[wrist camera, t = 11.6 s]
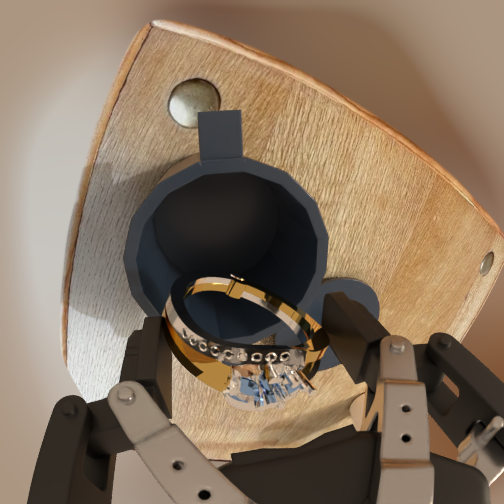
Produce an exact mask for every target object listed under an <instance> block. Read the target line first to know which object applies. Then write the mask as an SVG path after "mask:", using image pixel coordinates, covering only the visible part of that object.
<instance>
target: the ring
mask: <svg viewBox="0 0 504 504" xmlns="http://www.w3.org/2000/svg"><path fill="white" fill-rule="evenodd" d="M206 290H213V291H222V292H226V294H227V295H228V296H231V297H233V298H237V299H240V298H241V297H243V298H245V299H248V300H250V301H252V302H255V303H257V304H259V305H261V306H262V307H264V308H266V309H268V310H269V311H271V312H272V313H274V314H275V315H277V316H278V317H279V318H280V319H282V320H283V321H284V322H285V323H286V324H287V325H288V326H289V327H290V328H291V329H292V330H293V331H294V332H295V334H296V335H297V337H298V338H299V340H300V342H301V344H299V345H296V346H293V347H292V346H286V345H251V344H241V343H235V342H230V341H226V340H223V339H220V338H217V337H215V336H213V335H211V334H209V333H207V332H206V331H204V330H203V329H202V328H201V327H199V326H198V325H197V324H196V323H195V321H194V320H193V319H192V317H191V316H190V314H189V313H188V311H187V309H186V306H185V303H184V300H185V299H186V298H187V297H188V296H190V295H192V294H194V293H196V292H200V291H206ZM162 328H163V333H164V336H165V339H166V341H167V344H168V346H169V348H170V349H171V351H172V352H173V354H174V355H175V357H176V358H177V359H178V361H179V362H180V363H181V364H182V365H183V366H184V367H185V368H186V369H187V370H188V371H189V372H190V373H192V374H193V375H194V376H195V377H197V378H198V379H199V380H201V381H202V382H204V383H205V384H207V385H209V386H211V387H212V388H214V389H216V390H218V391H220V392H223V395H224V398H225V399H226V401H227V402H228V403H229V404H230V405H232V406H233V407H235V408H238V409H241V410H247V411H259V412H264V409H267V408H274V407H275V406H276V408H277V409H284V408H285V404H286V403H285V401H288V400H290V399H291V398H293V397H294V396H296V395H297V394H299V393H300V392H301V391H302V392H307V393H308V395H309V396H312V395H313V394H314V393H316V392H317V389H316V388H315V387H314V386H313V385H312V383H311V382H310V381H311V380H312V378H313V377H314V376H315V374H316V373H317V371H318V369H319V366H320V361H321V357H322V356H323V355H324V353H325V351H326V349H327V347H328V346H329V344H330V339H329V336H328V334H327V333H326V332H325V331H324V329H323V328H322V327H321V326H320V325H319V324H318V323H317V322H316V321H315V320H314V319H312V318H311V317H310V316H309V315H308V314H306V313H305V312H304V311H302V310H301V309H300V308H298V307H297V306H295V305H294V304H292V303H291V302H289V301H287V300H286V299H284V298H283V297H281V296H279V295H277V294H275V293H274V292H272V291H270V290H268V289H266V288H264V287H261V286H259V285H257V284H255V283H252V282H250V281H247V280H245V278H244V277H242V276H240V275H238V274H235V273H231V274H226V273H222V272H216V271H193V272H189V273H186V274H184V275H182V276H180V277H179V278H177V279H176V280H175V282H174V283H173V285H172V287H171V289H170V291H169V294H168V296H167V299H166V303H165V305H164V308H163V312H162ZM216 359H217V360H216ZM218 360H220V361H225V362H230V363H237V364H247V365H244V366H242V367H240V366H234V365H231V367H229V366H227V365H225V364H223V363H221V362H219V361H218ZM301 368H302V369H301ZM297 369H301V371H297Z"/></svg>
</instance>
